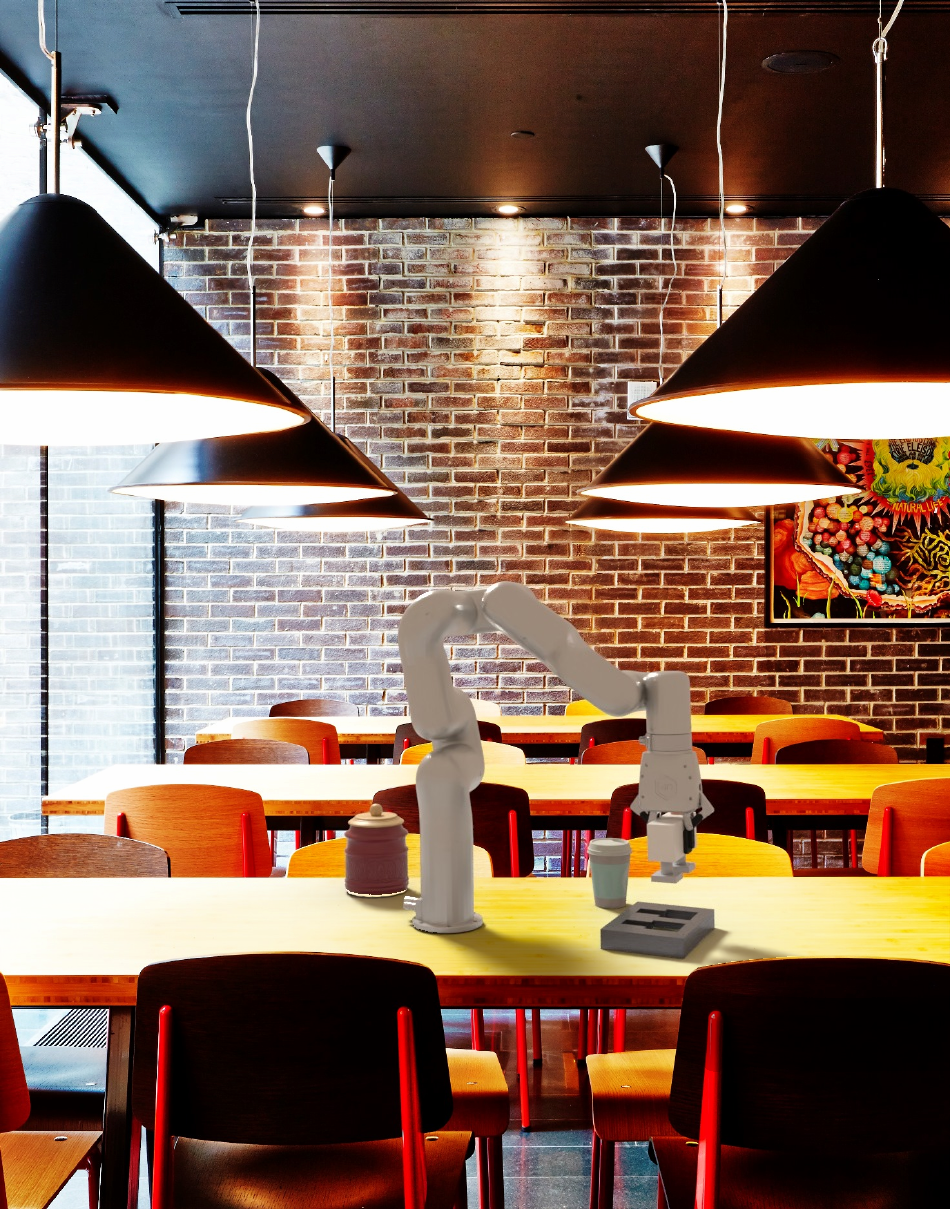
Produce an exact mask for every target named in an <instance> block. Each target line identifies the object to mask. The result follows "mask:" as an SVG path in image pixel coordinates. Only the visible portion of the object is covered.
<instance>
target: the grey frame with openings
mask: <svg viewBox="0 0 950 1209" xmlns="http://www.w3.org/2000/svg"><path fill="white" fill-rule="evenodd" d="M715 927H716V924H715V908H705V907H696V906H685V905H678V904H677V905H676V904H667V903H666V904H665V903H658V902H657V903H656V902H655V903H654V902H647V901H646V902H645V901H637V902H635V903H634V904H632V905H631V906H629V907H628V908H626V909H625V910H624V911H622V912H621V913H620V914H619V915H617V916H616V917H615V918H613V919H612V920H611V921H609V922H608V923H607V924H605V925H604V926H603V927H601V928H600V932H599V933H600V936H599V937H600V949H602V950H609V951H617V952H624V953H632V952H633V954H642V955H648V956H649V955H651V956H658V957H666V958H675V959H682V960H683V959H684V960H685V958H686V957H687V956H688V955H689V954H690V953H691V952H692V951H693V950H694V949H695V948H696V947H697V946H698V945H699V944H700V943H701V942H703V940H704V939H705V938H706V937H707V936H708V935H709V934H710V933H711V932H712V931H713V930H714V929H715ZM654 928H656V929H654ZM657 928H658V929H657ZM659 929H665V930H659ZM666 929H667V930H666ZM669 930H673V931H669ZM674 930H676V931H674Z"/></svg>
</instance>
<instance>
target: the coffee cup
mask: <svg viewBox="0 0 950 1209" xmlns="http://www.w3.org/2000/svg"><path fill="white" fill-rule="evenodd" d="M586 852H587V854H588V857H589V866H590V874H591V882H592V891H593V899H594V905H595V906H596V907H598V908H601V909H621V908H624V907H626V903H627V896H628V886H629V885H628V884H629V875H630V874H629V872H630V864H631V863H630V862H631V854H632V853H633V850H632V847H631V844H630V841H629V840H626V839H624V838H613V837H607V838H606V837H605V838H604V837H603V838H595V839H591V840H590V841H589V844H588V846H587V851H586Z"/></svg>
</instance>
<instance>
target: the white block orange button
mask: <svg viewBox="0 0 950 1209" xmlns="http://www.w3.org/2000/svg"><path fill="white" fill-rule="evenodd" d="M694 815H697V813H696V811H694ZM684 830H685V823H684V819H683V815H682V813H672V812H665V814H661V816H660V817H659V818H657V819H655V820H653V821H652V822H650V823H648V824H647V823H646V838H647V839H646V840H647V842H646V844H647V861H648V862H659V863H660V870H657V871H656V872H654V873H653V874H651V875H650V881H651V883H664V884H665V883H666V884H677V883H679V882H680V881H681V880H683V878H684V874H690V873H692V872H693V871H694V870H695V869H696V862H691V861H687V854H685V853H684V847H683V831H684ZM694 832H695V847H694V848H692V851H693V850H694V849H695V848H697V847H698V838H697V826H696V827H695V828H694Z"/></svg>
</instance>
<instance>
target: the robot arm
mask: <svg viewBox="0 0 950 1209" xmlns="http://www.w3.org/2000/svg"><path fill="white" fill-rule="evenodd" d="M494 632H495V633H496V632H501V633H502V634H503V635H505V636H506V637H507V638H509V639H510V640H511V641H512V642H514V643H516V644H517V645H518V646H519V647H521V648H522V649H523V650H525V651H526V652H527V653H529V654H530V655H531V656H532V657H534V658H535V659H536V660H538V661H539V662H541V663H542V664H543V665H544V666H545V667H546V668H547V669H548V670H549V671H550V672H551V673H553V674H554V675H555V676H556V677H557V678H559V679H560V680H561V681H562V682H563V683H564V684H566V685H567V686H568V687H569V688H570V689H572V690H573V691H574V692H575V693H577V694H578V695H579V696H580V697H582V698H583V699H584V700H586V701H588V703H590V705H593V706H594V707H596V709H598V710H600V711H601V712H602V713H603V714H606V715H609V716H610V717H615V718H619V717H622V718H623V717H625V716H628V715H630V714H633V713H636V712H643V711H644V712H645V718H646V719H645V720H646V733H645V735H643V736H639V738H638V743H639V745H643V746H645V749H646V750H645V751H643V752H642V754H641V759H640V769H639V780H638V782H639V784H638V794H637V795H636V797H635V798H634V800H633V801H632V802H631V804H630V807H629V809H630V810H632V811H633V813H635V814H636V815H638V816H639V817H640V818H641V819H642V821H643V822H645V824H646V825H647V824H648V823H650V822H652V821H653V820H655V819H657V818H659V817H661V816H662V813H668V812H672V813H682V815H683V819H684V823H685V830H684V831H683V847H684V853H685V854H686V855H689V854H690V853H692V852H693V850H692V848H694V847H695V832H694V828H695V827H696V828H697V826H698V825H699V824H700V823H701V822H702V821H703V820H704V819H706V818H707V817H708V816H710V815H711V814H712V813H714V812H715V808H714V807H713V805H712V803H711V802H710V801H709V800H708V799H707V797H706V795H705V794H704V793H703V785H702V778H701V770H700V769H701V768H700V764H699V759H698V756H697V752H696V751H695V750H693V740H692V739H693V736H692V714H691V713H692V712H691V711H692V710H691V708H692V707H691V683H690V682H691V680H690V677H689V675H688V673H686V672H684V671H683V670H682V671H681V670H659V671H657V670H656V671H652V672H644V671H636V670H628V669H627V670H626V669H625V670H624V669H623V670H621V669H619V668H618V667H616V666H615V665H613V663H611V662H610V661H608V660H607V659H606V658H604V657H603V656H602V655H600V654H599V653H598V652H597V651H595V650H594V649H593V648H592V647H591V646H590V645H589V644H588V643H586V641H585V640H584V639H583V638H582V637H581V635H580V633H579V631H578V629H577V628H576V626H574V625H573V624H572V623H571V622H569V621H568V620H567V619H565V618H564V617H563V616H561V615H560V614H558V613H556V611H554V610H553V609H551V608H549V607H548V605H546V604H544V603H543V602H542V601H540V600H539V599H538V598H537V596H536V595H535V593H534V592H533V591H532V589H530V587H528V586H527V585H526V584H523V583H520V582H514V581H509V580H504V581H499V582H496V583H493V584H492V585H491V586H489V587H481V588H475V589H474V588H473V589H467V590H466V589H465V590H451V589H444V588H443V589H434V590H429V591H427V592H425V593H423V594H421V595H419V596H418V597H416V598H415V600H413V601H412V602H411V603H410V604H409V605H408V606H407V607H406V609H405V611H404V612H403V614H402V616H401V618H400V622H399V624H398V629H397V644H398V645H397V646H398V647H397V648H398V652H399V657H400V658H399V659H400V663H401V667H402V672H403V680H404V687H405V693H406V697H407V702H408V708H409V716H410V720H411V724H412V728H413V730H414V731H415V733H416V734H417V735H418V736H419V737H420V738H422V739H424V740H426V741H429V742H431V746H432V751H430V752H429V753H427V754H426V755H425V756H423V758H422V759H421V761H420V762H419V764H418V766H417V770H416V774H415V790H416V791H415V792H416V798H417V803H418V811H419V812H418V813H419V814H418V815H419V845H420V846H419V847H420V848H419V849H420V850H419V852H420V854H419V855H420V856H419V857H420V862H419V863H420V865H419V866H420V867H419V868H420V897H414V896H405V897H404V899H403V905H402V908H403V909H404V911H405V910H406V911H414V912H415V915H414V916H413V917H412V920H411V922H412V926H413V925H414V926H413V927H414V928H415V927H416V928H415V929H417V930H419V929H421V930H420V931H422V930H425V931H424V932H426V931H428V932H427V933H433V932H437V933H436V934H455V933H456V934H458V933H465V932H468V931H469V932H470V931H473V930H477V929H479V928H480V927H481V926H483V923H484V922H483V916H482V914H480V913H478V912H475V897H474V896H475V892H474V890H475V889H474V888H475V887H474V886H475V885H474V884H475V883H474V881H475V879H474V877H475V876H474V873H475V872H474V830H473V829H474V825H473V812H472V806H471V805H472V804H471V798H470V797H471V796H470V793H471V792H472V791H473V790H475V789H476V788H477V787H478V786H479V785H480V783H482V781H483V778H484V775H485V768H486V767H485V765H486V764H485V757H484V756H485V755H484V751H483V746H482V745H483V744H482V740H481V735H480V730H479V724H478V719H477V714H476V710H475V707H474V704H473V702H472V701H471V698H470V697H469V695H468V694H467V693H466V692H464V690H462V689H460V688H459V687H457V686H454V683H453V678H452V674H451V668H450V667H451V666H450V662H449V659H448V656H447V652H446V650H445V646H444V645H445V644H444V641H445V638H446V637H462V636H463V637H464V636H469V635H470V636H471V635H477V634H478V635H479V634H485V633H488V634H489V633H494ZM700 808H702V810H701V811H699V812H698V813H696V815H694V812H696V810H697V809H700ZM694 849H695V848H694Z"/></svg>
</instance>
